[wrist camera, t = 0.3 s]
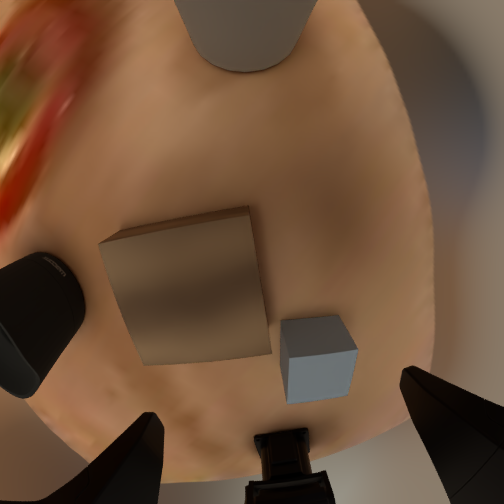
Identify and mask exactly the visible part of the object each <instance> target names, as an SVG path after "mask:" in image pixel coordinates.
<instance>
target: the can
mask: <svg viewBox="0 0 504 504" xmlns="http://www.w3.org/2000/svg"><path fill="white" fill-rule="evenodd" d="M174 2H175V4H176V6H177V8H178V10H179V13H180V15H181V17H182V19H183V22H184V24H185V26H186V28H187V31H188V33H189V35H190V38H191V40H192V42H193V44H194V46H195V48H196V49H197V51H198V52H199V54H200V55H201V56H202V57H203V58H205V59H206V60H207V61H209V62H210V63H211V64H213V65H215V66H218V67H221V68H223V69H226V70H229V71H240V72H250V71H257V70H264V69H266V68H268V67H271V66H273V65H276V64H278V63H280V62H281V61H282V60H283V59H284V58H286V57H287V56H288V55H289V54H290V53H291V51H292V50H293V48H294V46H295V45H296V43H297V41H298V39H299V37H300V35H301V32H302V30H303V28H304V26H305V24H306V22H307V20H308V18H309V16H310V14H311V12H312V10H313V8H314V6H315V4H316V2H317V0H174Z"/></svg>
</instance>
